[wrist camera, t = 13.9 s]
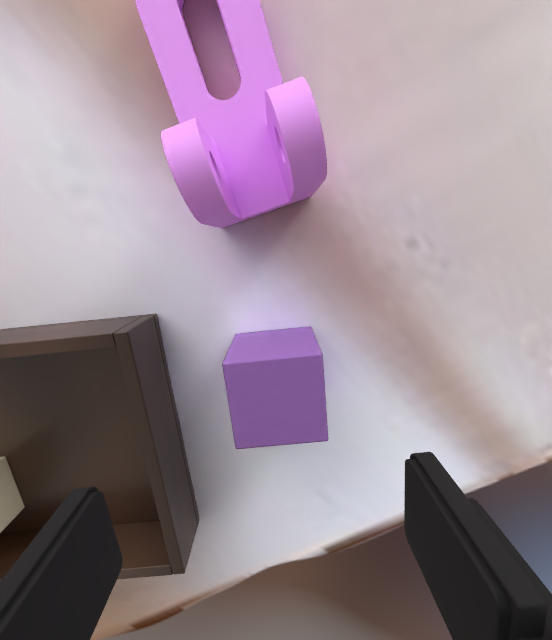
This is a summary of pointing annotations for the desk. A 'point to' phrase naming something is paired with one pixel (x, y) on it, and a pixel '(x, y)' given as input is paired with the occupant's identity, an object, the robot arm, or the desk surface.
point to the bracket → (235, 120)
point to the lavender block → (276, 388)
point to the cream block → (8, 495)
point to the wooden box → (97, 437)
